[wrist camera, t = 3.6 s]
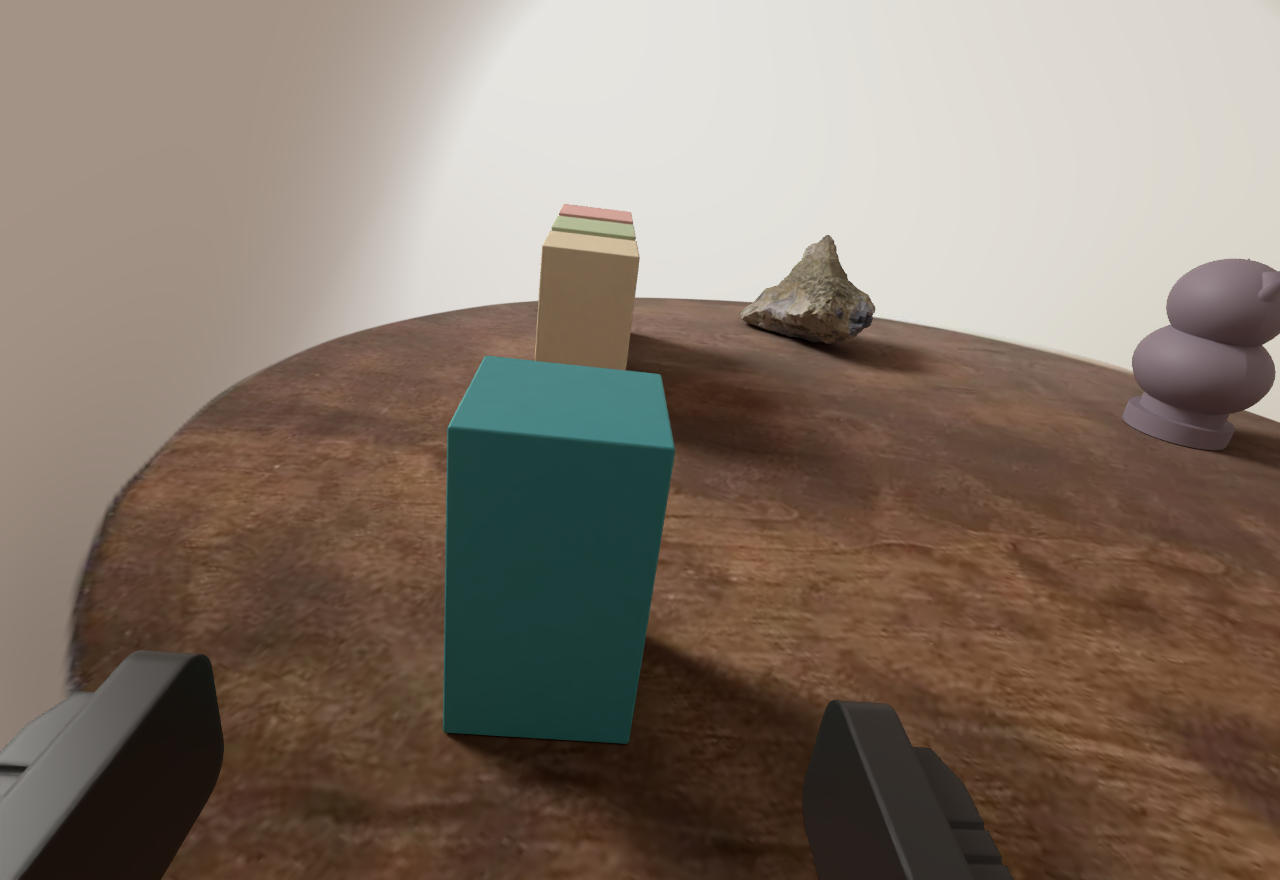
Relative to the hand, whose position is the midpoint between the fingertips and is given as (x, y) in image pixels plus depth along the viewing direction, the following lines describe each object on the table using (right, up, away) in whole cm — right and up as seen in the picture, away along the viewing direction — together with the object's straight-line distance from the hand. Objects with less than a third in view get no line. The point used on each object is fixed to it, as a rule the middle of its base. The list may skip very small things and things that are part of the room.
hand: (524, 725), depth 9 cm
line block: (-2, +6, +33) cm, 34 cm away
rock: (+15, +12, +51) cm, 55 cm away
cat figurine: (+39, +4, +41) cm, 57 cm away
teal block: (-1, -3, +12) cm, 13 cm away
